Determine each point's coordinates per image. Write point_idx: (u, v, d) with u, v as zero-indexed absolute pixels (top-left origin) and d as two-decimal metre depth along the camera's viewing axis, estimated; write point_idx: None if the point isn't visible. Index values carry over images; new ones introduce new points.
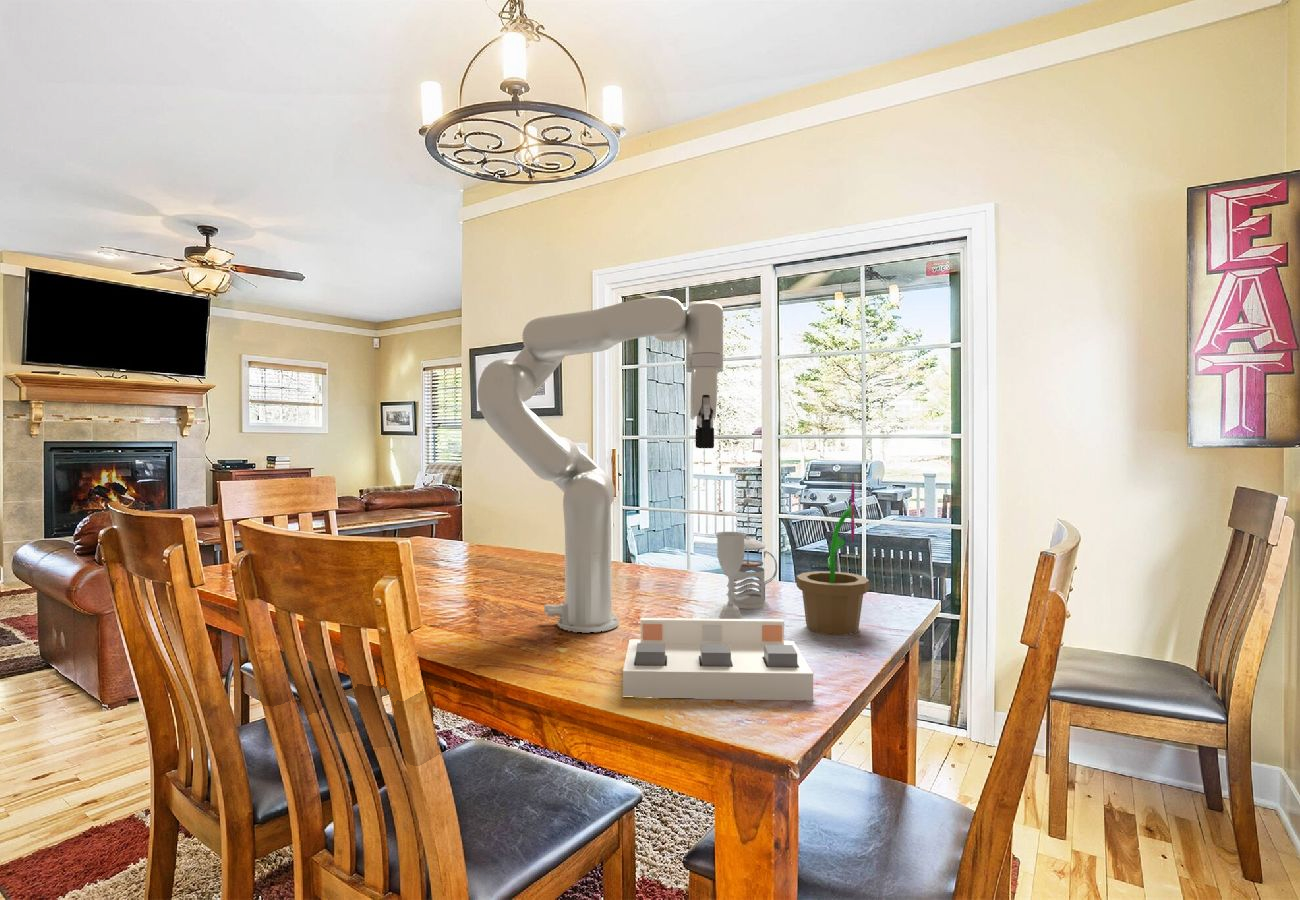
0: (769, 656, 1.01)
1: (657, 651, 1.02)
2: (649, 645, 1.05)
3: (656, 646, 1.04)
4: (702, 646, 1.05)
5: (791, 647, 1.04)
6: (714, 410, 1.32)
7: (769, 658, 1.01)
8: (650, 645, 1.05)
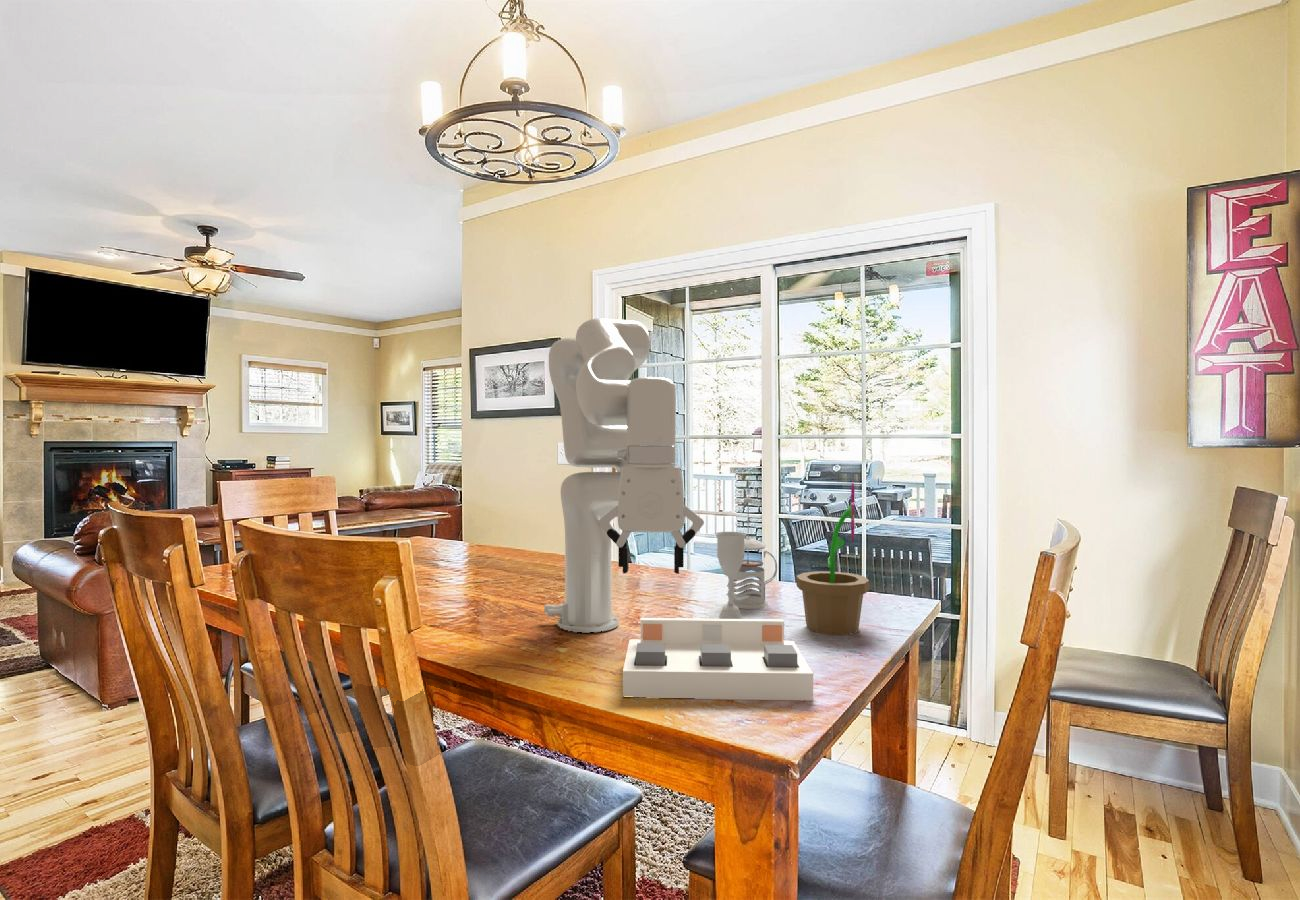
0: (769, 656, 1.01)
1: (657, 651, 1.02)
2: (649, 645, 1.05)
3: (656, 646, 1.04)
4: (702, 646, 1.05)
5: (791, 647, 1.04)
6: None
7: (769, 658, 1.01)
8: (650, 645, 1.05)
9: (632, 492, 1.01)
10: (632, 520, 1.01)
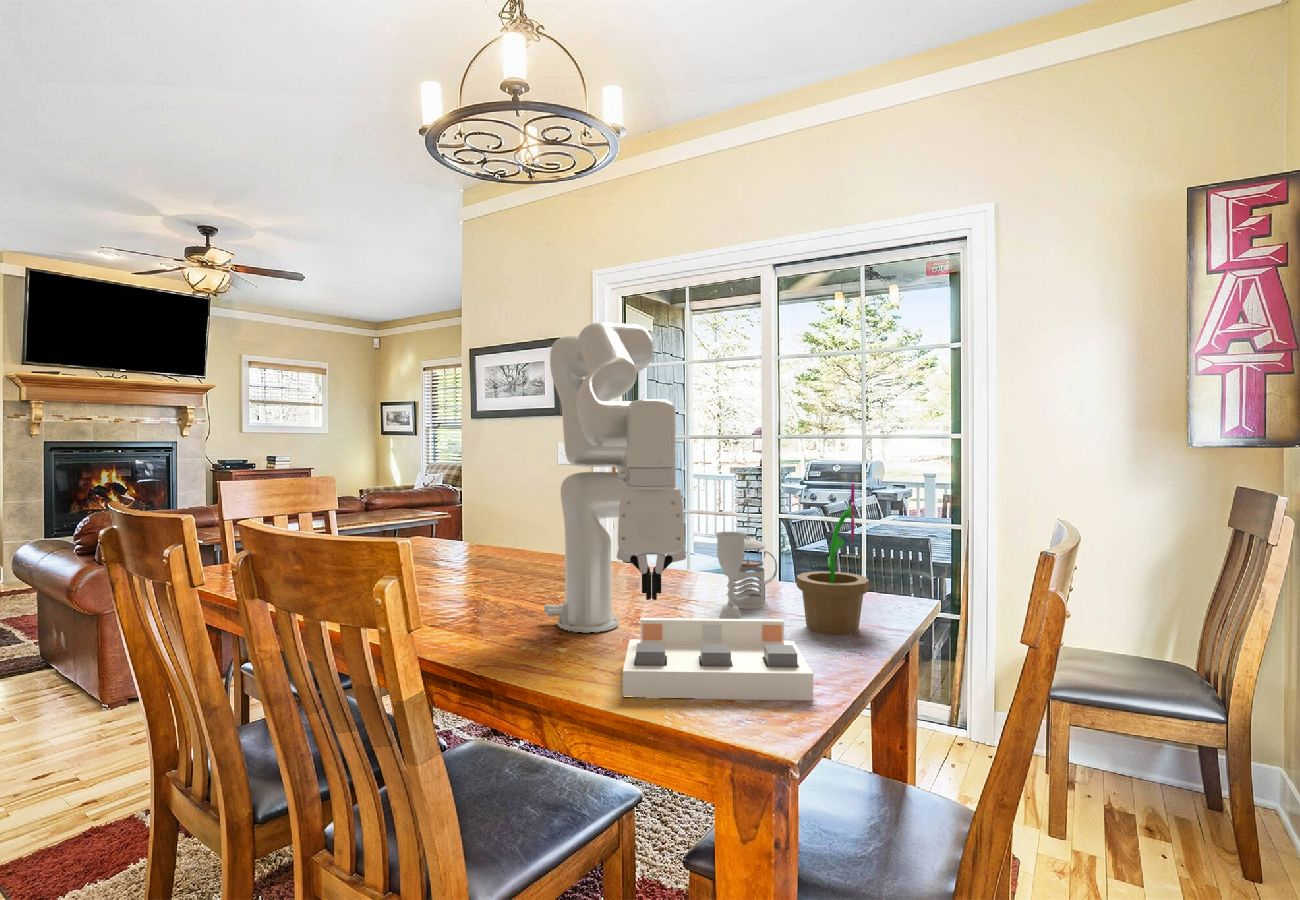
0: (769, 656, 1.01)
1: (657, 651, 1.02)
2: (649, 645, 1.05)
3: (656, 646, 1.04)
4: (702, 646, 1.05)
5: (791, 647, 1.04)
6: None
7: (769, 658, 1.01)
8: (650, 645, 1.05)
9: (632, 514, 1.01)
10: (632, 542, 1.01)
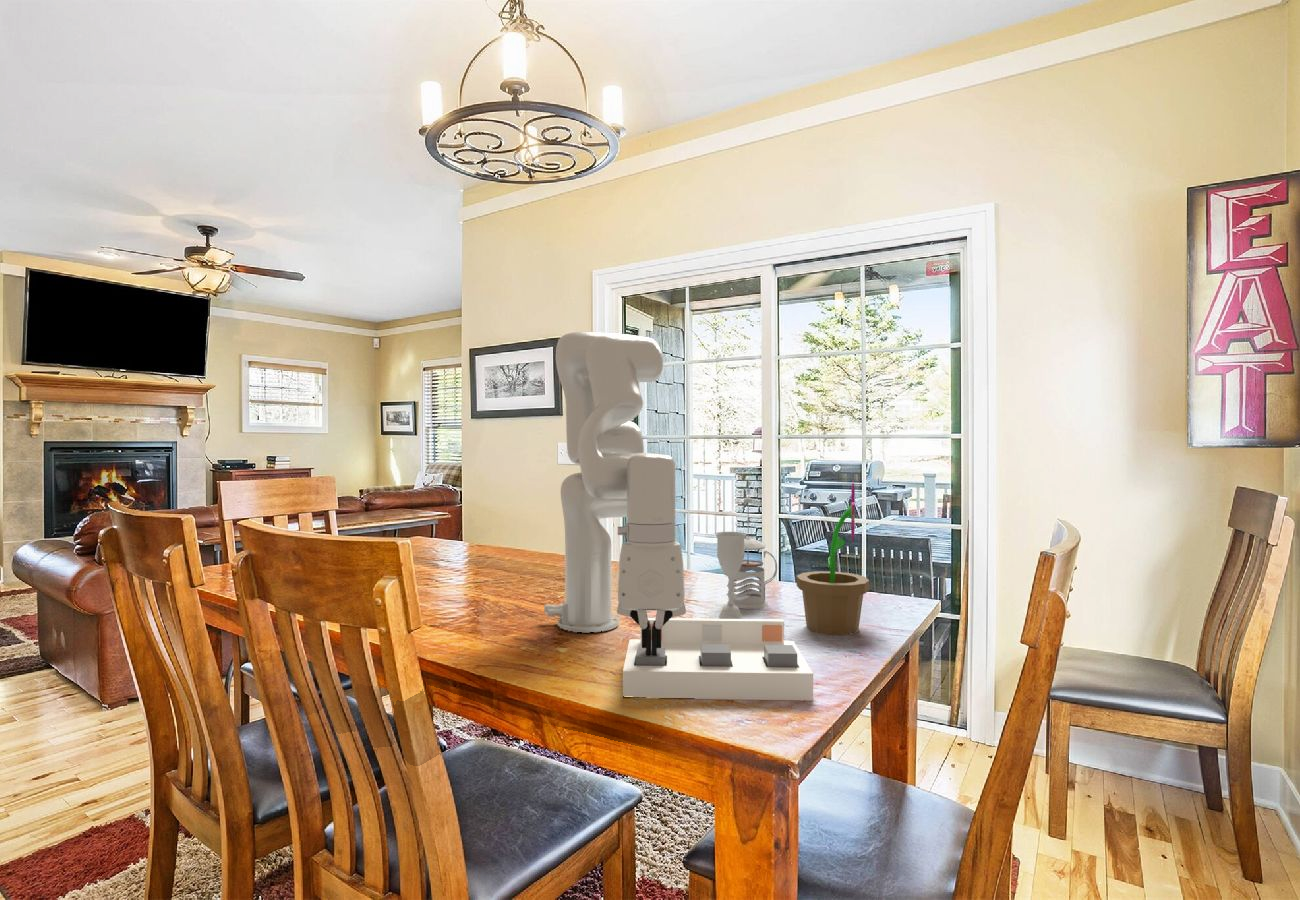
0: (769, 656, 1.01)
1: (657, 656, 1.02)
2: None
3: None
4: (702, 646, 1.05)
5: (791, 647, 1.04)
6: None
7: (769, 658, 1.01)
8: None
9: (632, 570, 1.01)
10: (632, 598, 1.01)
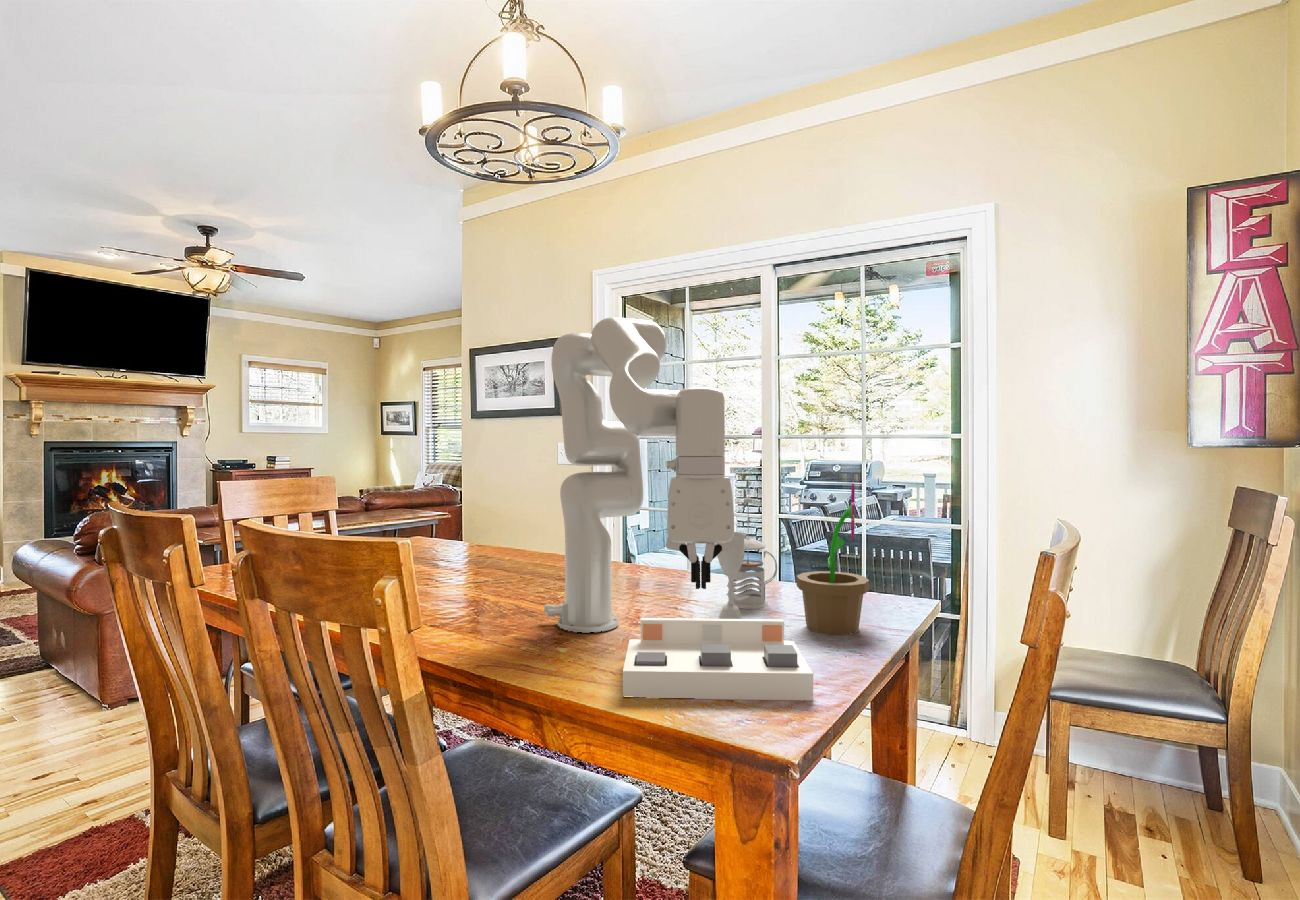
0: (769, 656, 1.01)
1: (657, 661, 1.02)
2: (649, 654, 1.05)
3: (656, 655, 1.05)
4: (702, 646, 1.05)
5: (791, 647, 1.04)
6: None
7: (769, 658, 1.01)
8: (650, 654, 1.05)
9: (682, 503, 1.01)
10: (682, 531, 1.01)
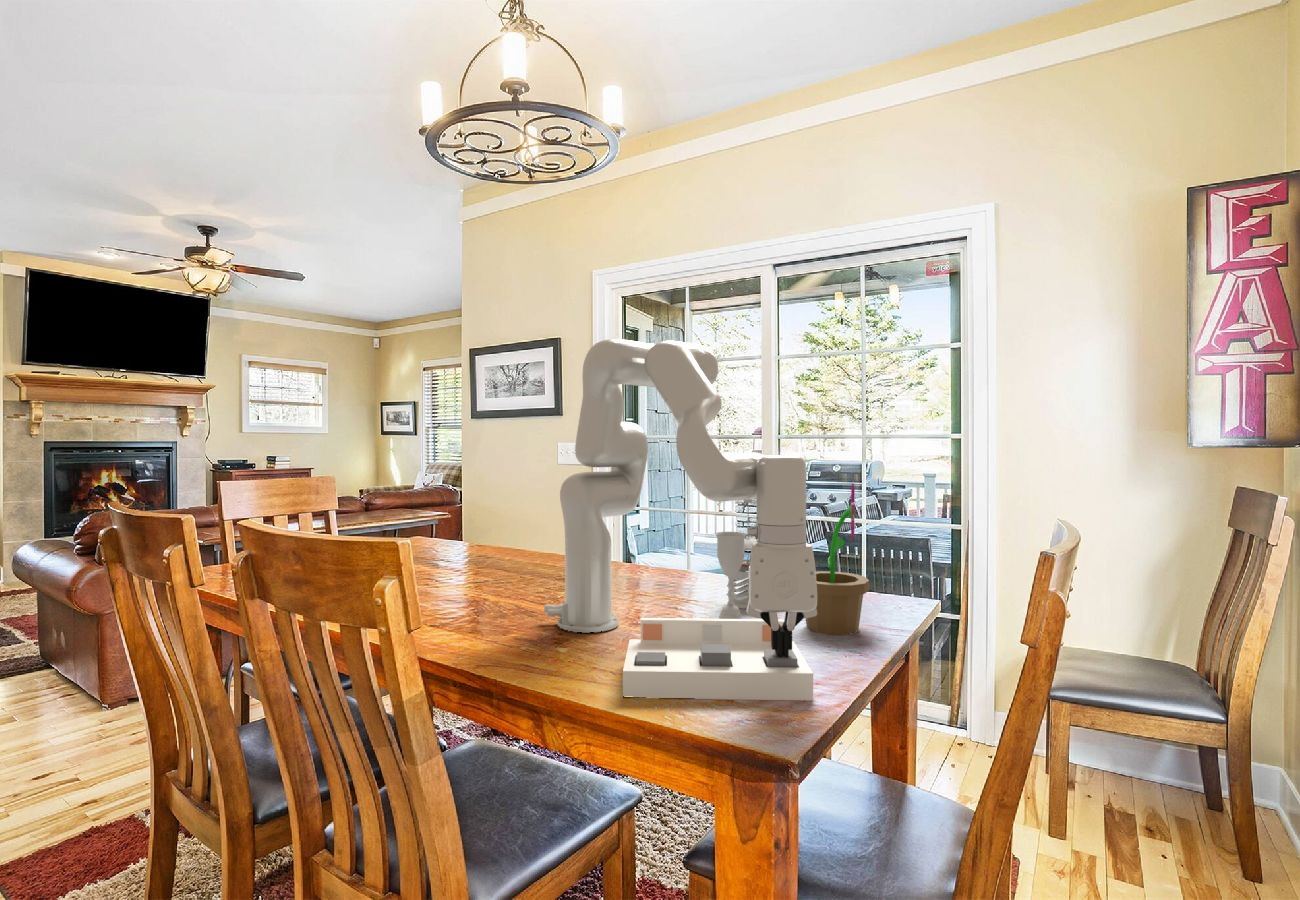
0: (769, 661, 1.01)
1: (657, 661, 1.02)
2: (649, 654, 1.05)
3: (656, 655, 1.05)
4: (702, 646, 1.05)
5: (791, 652, 1.04)
6: None
7: (769, 663, 1.01)
8: (650, 654, 1.05)
9: (765, 572, 1.00)
10: (766, 600, 1.00)
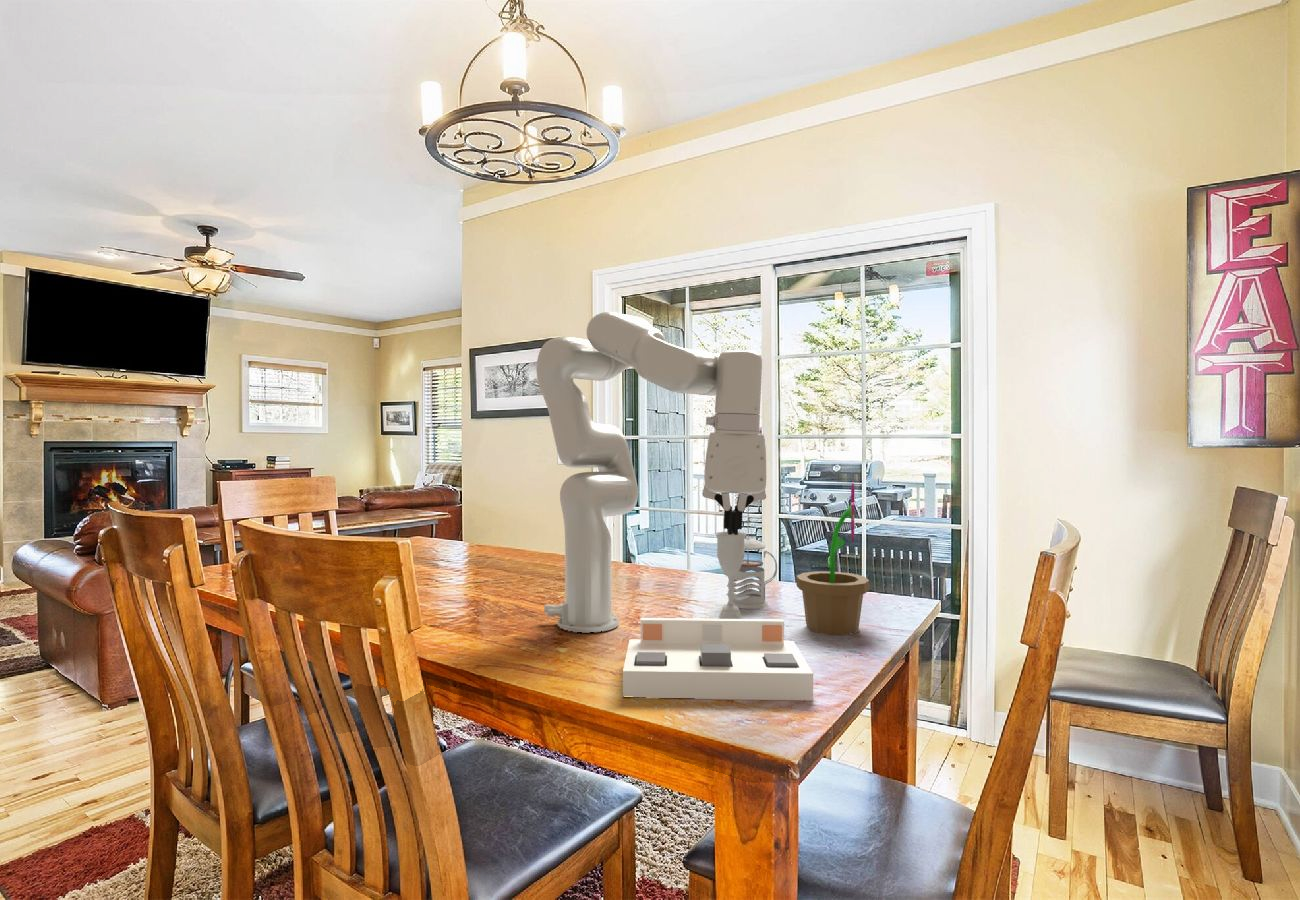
0: (769, 665, 1.01)
1: (657, 661, 1.02)
2: (649, 654, 1.05)
3: (656, 655, 1.05)
4: (702, 646, 1.05)
5: (791, 656, 1.04)
6: None
7: None
8: (650, 654, 1.05)
9: (720, 456, 1.10)
10: (719, 481, 1.10)
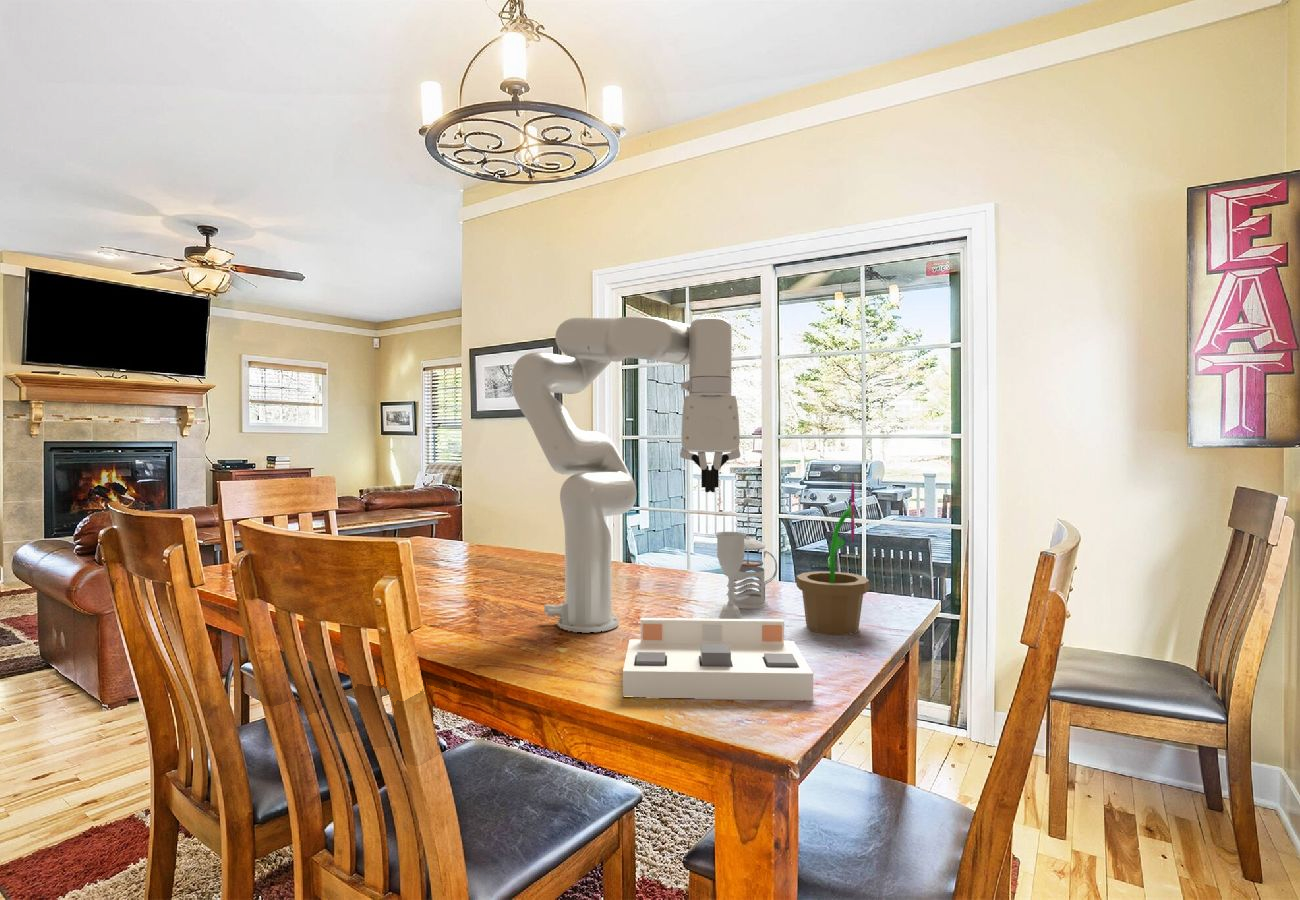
0: (769, 665, 1.01)
1: (657, 661, 1.02)
2: (649, 654, 1.05)
3: (656, 655, 1.05)
4: (702, 646, 1.05)
5: (791, 656, 1.04)
6: None
7: None
8: (650, 654, 1.05)
9: (695, 417, 1.17)
10: (695, 441, 1.17)
